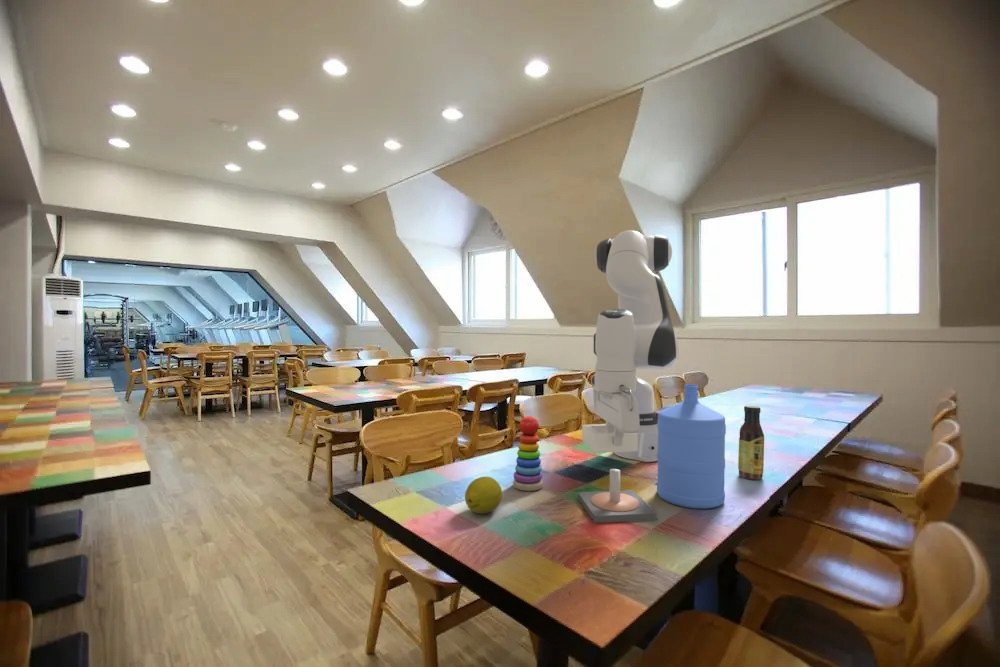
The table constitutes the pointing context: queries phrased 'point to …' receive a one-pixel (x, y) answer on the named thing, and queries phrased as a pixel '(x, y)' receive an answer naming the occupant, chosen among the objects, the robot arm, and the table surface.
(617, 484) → the rod stand
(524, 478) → the stacking toy
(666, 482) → the water jug
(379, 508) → the table surface
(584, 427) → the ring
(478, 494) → the lemon
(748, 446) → the sauce bottle
